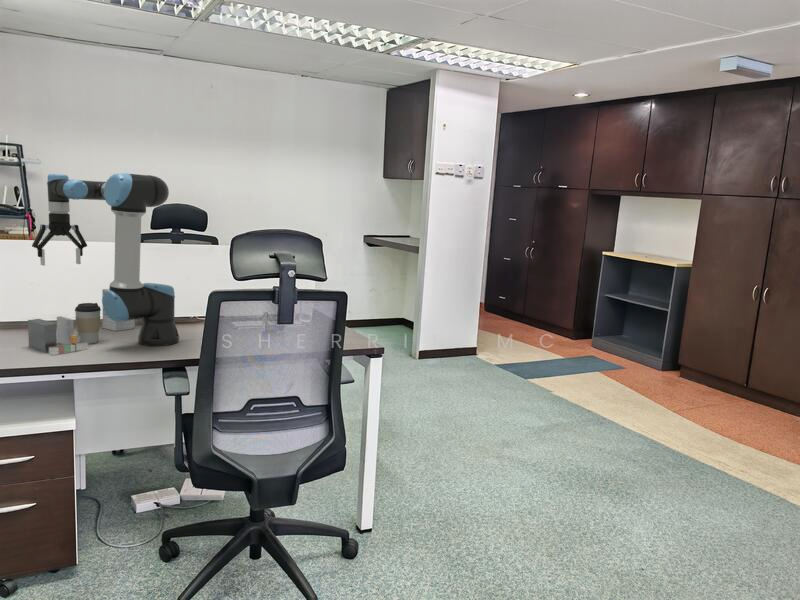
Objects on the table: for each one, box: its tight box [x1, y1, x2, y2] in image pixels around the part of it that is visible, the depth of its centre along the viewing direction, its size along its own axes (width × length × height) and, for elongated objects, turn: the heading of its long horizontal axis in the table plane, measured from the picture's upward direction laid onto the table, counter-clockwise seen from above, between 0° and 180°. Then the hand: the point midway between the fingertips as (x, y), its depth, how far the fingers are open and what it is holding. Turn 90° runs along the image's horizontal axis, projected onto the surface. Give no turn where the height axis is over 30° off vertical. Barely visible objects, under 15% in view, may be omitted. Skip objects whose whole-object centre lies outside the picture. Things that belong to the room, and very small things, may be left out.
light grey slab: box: [56, 315, 80, 345], centre depth 226 cm, size 14×2×10 cm, turn 56°
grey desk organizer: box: [27, 318, 89, 356], centre depth 223 cm, size 17×13×10 cm
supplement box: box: [101, 288, 136, 332], centre depth 259 cm, size 10×9×17 cm
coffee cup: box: [74, 302, 102, 345], centre depth 234 cm, size 9×9×15 cm
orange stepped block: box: [70, 335, 78, 343], centre depth 221 cm, size 3×1×3 cm, turn 56°
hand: (61, 264), depth 251 cm, fingers open, 13 cm apart
